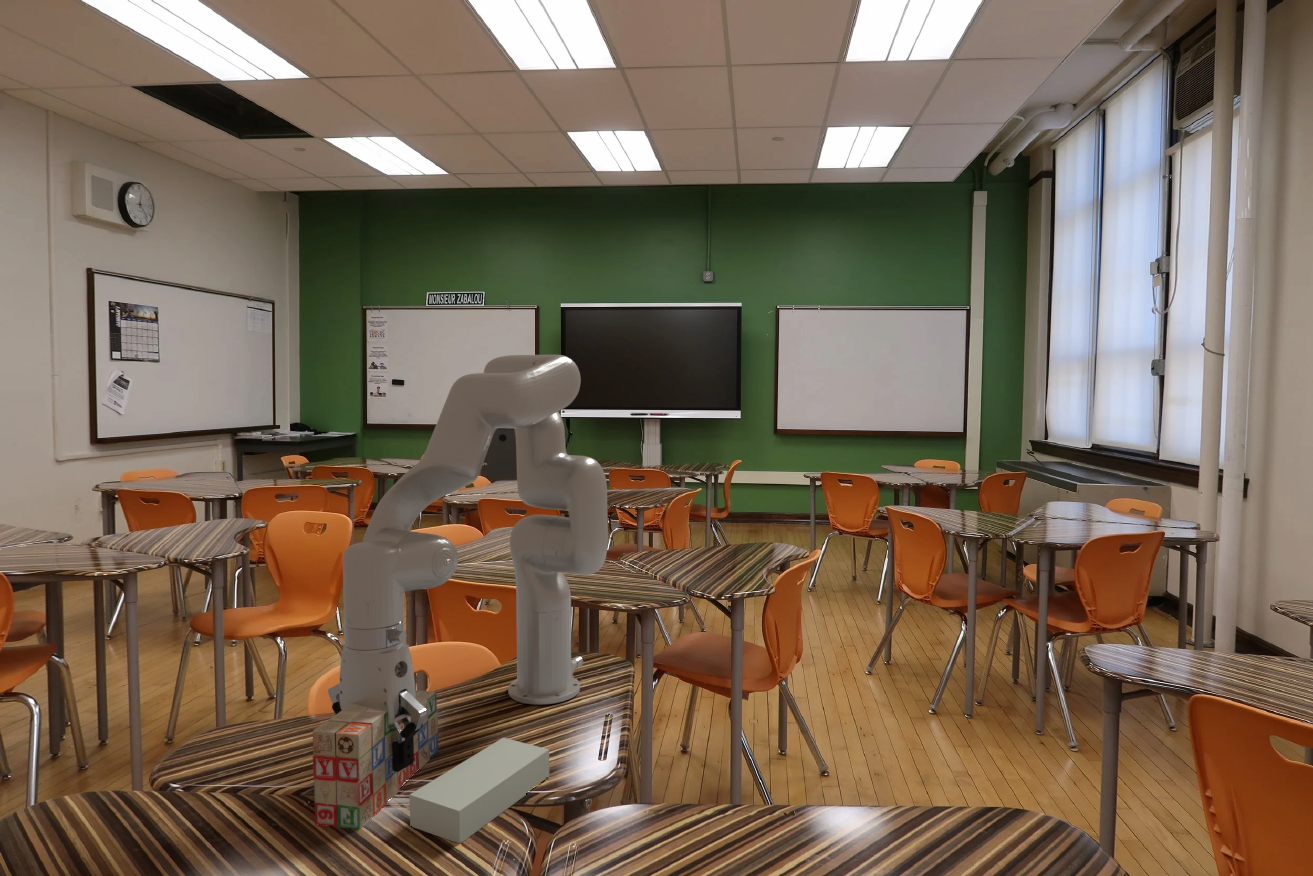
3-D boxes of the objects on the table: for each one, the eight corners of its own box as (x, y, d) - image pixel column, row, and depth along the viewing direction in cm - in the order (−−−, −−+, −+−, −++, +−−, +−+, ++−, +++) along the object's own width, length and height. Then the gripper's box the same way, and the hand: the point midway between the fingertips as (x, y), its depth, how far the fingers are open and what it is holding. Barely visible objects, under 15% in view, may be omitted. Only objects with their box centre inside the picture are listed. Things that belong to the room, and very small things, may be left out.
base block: (503, 764, 113) (503, 737, 112) (549, 777, 109) (549, 749, 109) (410, 826, 97) (409, 794, 96) (459, 843, 93) (459, 811, 93)
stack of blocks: (400, 749, 118) (398, 668, 117) (439, 752, 117) (437, 671, 116) (313, 826, 97) (311, 729, 96) (360, 832, 96) (358, 733, 95)
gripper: (443, 636, 104) (445, 762, 105) (351, 618, 112) (354, 735, 113) (400, 653, 98) (403, 787, 99) (306, 633, 106) (309, 756, 107)
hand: (377, 759), depth 106 cm, fingers open, 9 cm apart
